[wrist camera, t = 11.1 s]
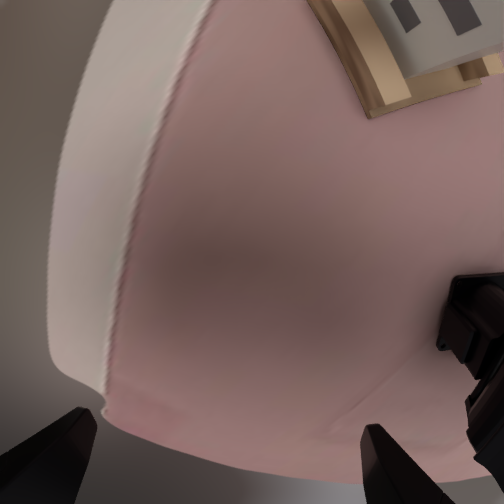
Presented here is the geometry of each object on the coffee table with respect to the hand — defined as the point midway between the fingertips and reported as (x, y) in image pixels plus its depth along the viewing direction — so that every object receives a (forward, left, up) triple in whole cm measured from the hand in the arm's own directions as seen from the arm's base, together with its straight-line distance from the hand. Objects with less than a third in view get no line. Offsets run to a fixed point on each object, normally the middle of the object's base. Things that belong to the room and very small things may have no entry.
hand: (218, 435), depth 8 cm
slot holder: (-10, -15, -13) cm, 22 cm away
